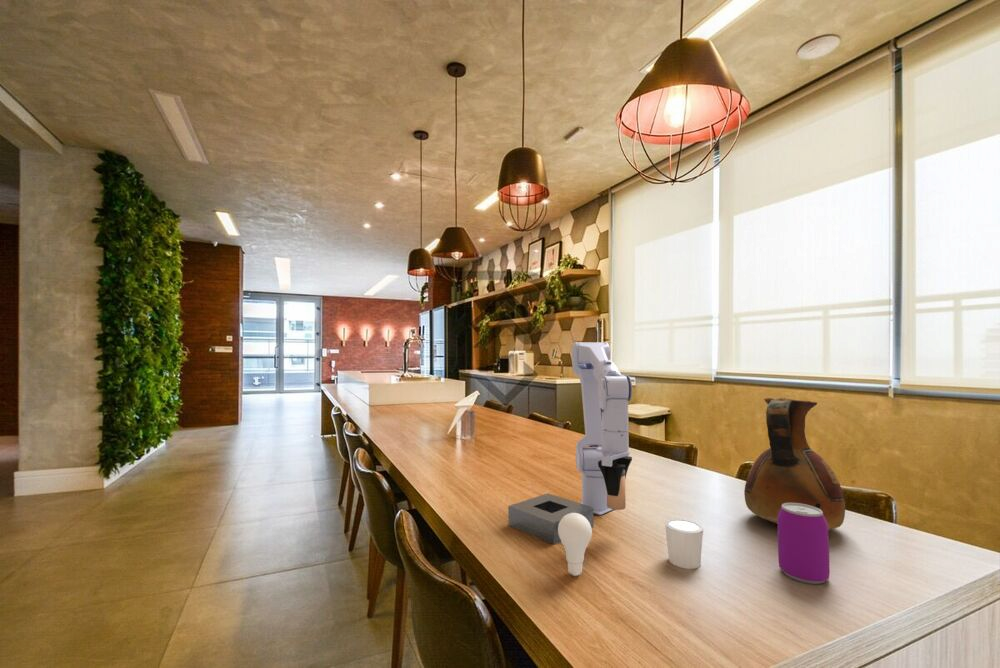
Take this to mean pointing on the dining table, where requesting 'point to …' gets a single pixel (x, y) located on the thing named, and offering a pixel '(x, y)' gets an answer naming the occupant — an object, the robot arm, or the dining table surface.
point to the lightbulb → (574, 540)
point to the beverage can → (803, 543)
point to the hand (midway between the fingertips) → (615, 492)
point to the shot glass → (684, 543)
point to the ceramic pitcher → (792, 468)
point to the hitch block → (545, 515)
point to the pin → (619, 500)
